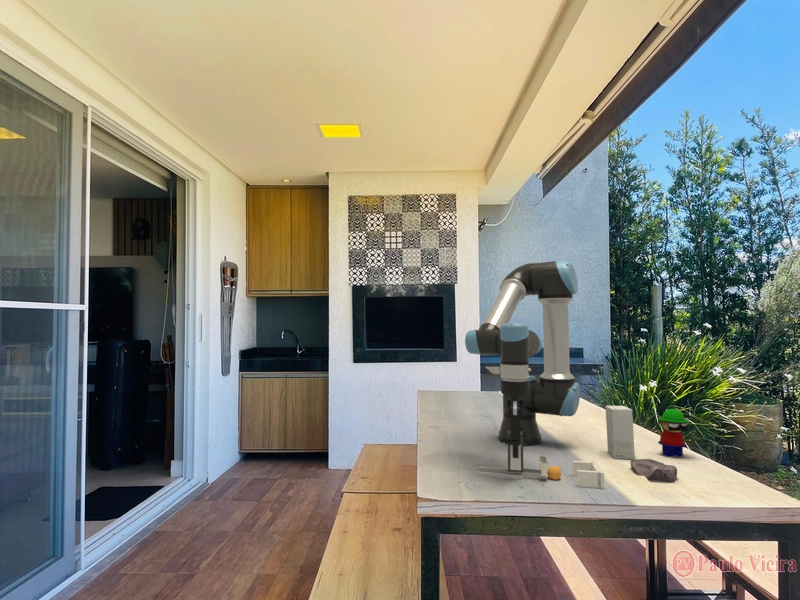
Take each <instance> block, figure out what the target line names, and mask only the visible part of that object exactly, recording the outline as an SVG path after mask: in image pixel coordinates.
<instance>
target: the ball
mask: <svg viewBox="0 0 800 600" xmlns="http://www.w3.org/2000/svg"><path fill="white" fill-rule="evenodd" d="M547 474H548V476H547V477H548V478H550V480H553V481H554V480H555V481H557V480H559V479H561V477H562V471H561V469H560V467H558V466H556V465H552V466H549V467H548V468H547Z"/></svg>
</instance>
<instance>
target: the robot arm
mask: <svg viewBox="0 0 800 600" xmlns="http://www.w3.org/2000/svg"><path fill="white" fill-rule="evenodd" d="M573 265H574V264H572V262H570V261H567V260H556V261H542V262H531V263H530V262H529V263H525V264H522V265H520V266H518V267H517V268H514V269H513V270H512V271H511V272H510V273H508V274H507V275H506V276H505V277H504V278H503V280H502V282H501V283H500V285H499V292H498V294H497V296H496V298H495V300H494V301H493V303H492V305H491V307H490V308H489V310H488V312H487V313H486V316H485V318H483V320H482V322H481V324H480V326H479V328H478V329H474V330H473V329H472V330H471V329H470V330H468V331H467V332H466V335H465V339H464V345H465V349H466V351H467V352H468V353H469V354H472V355H474V354H475V355H479V356H482V355H483V356H486V355H487V356H500V364H499V365H500V368H499V369H500V378H501V380H500V393H501V394H502V412H503V413H502V421H501V426H500V430H499V431H498V440H499V441H500V442H502V443H505V444H507V446H508V445H510V470H521V445H520V444H521V441H520V431H523V446H533V445H538V444H541V443H542V435H541V433H540V429H539V426H538V423H537V415H536V414H542V415H551V416H559V417H573V416H575V414H576V413H577V412H578V408H579V404H580V399H581V385H580V384H579V383H578V382H576V380H575V379H576V378H575V376H574V375H573V374H572V373H571V370H570V368H571V367H570V333H569V332H570V330H569V329H570V328H569V327H570V326H569V325H570V323H569V322H570V321H569V304H570V302H571V301H573V295H576V294H577V293H578V287H579V285H578V279H577V278H578V277H577V274H576V270H575V268H574V266H573ZM527 296H537V300H538V301H539V302H540V303H541V304H542V326H543V327H542V333H543V337H541V336H540V335H539V333H537V331H534V330H530V329H529V325H528V324H526V323H510V321H511V319H512V317H513V315H514V313H515V311H516V309H517V307H518V304H520V302H521V301H522V300H524V299H525V298H526V297H527ZM542 347H543V372H542V373H541V374H540V375H539V379H538V380H537V378H536V376H535V375H529V374H530V373H529V372H531V371H532V369H531V367H529V363H530V362H529V361H530V359H529V358H530V357H532V356H534V355H536V354H538V353H539V352H540V351H541V349H542ZM508 430H511V440H510V443H509V442H508Z"/></svg>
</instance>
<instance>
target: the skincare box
mask: <svg viewBox="0 0 800 600" xmlns="http://www.w3.org/2000/svg"><path fill="white" fill-rule="evenodd" d="M633 418H634V417H633V409H632V408H629V407H627V406H626V405H605V421H606V422H605V423H606V437H607V438H606V439H607V441H606V442H607V453H608V454H609V455H610V456H611V457H612V458H613V459H615V460H618V459H619V460H635V459H636V457H635V453H636V452H635V438H634V437H635V435H634V420H633Z"/></svg>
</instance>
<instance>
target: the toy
mask: <svg viewBox="0 0 800 600" xmlns="http://www.w3.org/2000/svg"><path fill="white" fill-rule="evenodd" d="M657 420H658V421H660V422H661V426H662V427H663V429H664V430H663V431H662V433H660V438H659V440H658V441H657V443H658V444H659V445H661V448H662V449H661V450H662V456H665V457H669V458H670V457H671V458H672V457H683V456H684V454H683V450H684V449H683V448H686V447H687V444H686V440H685V437H684V436H683V433H682V432H686V431H688V424H689V423H690V422H691V421H690V420H689V419H686V418H685V416H684V414H683V413H682V412H681V410H679V409H676V408H669V409H668V408H667V409H666V410H665V411H664V412H663V414H662V416H661V417H660V416H659V417H658V418H657Z"/></svg>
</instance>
